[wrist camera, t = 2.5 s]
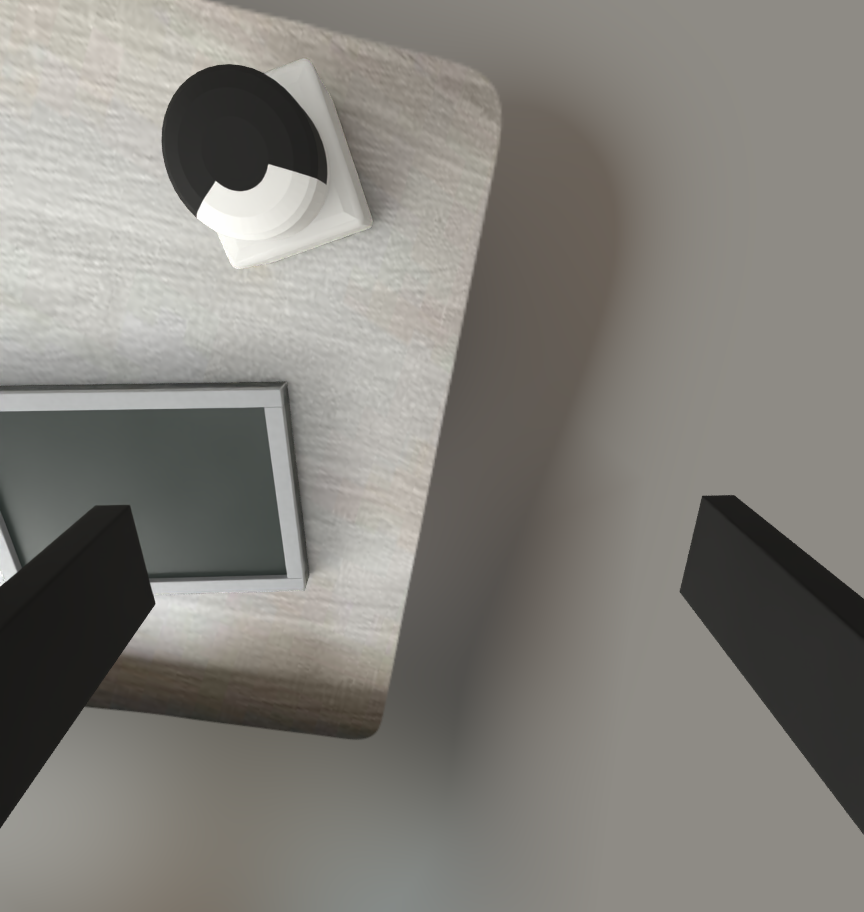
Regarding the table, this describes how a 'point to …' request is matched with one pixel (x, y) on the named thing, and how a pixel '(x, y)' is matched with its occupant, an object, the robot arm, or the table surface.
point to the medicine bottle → (263, 161)
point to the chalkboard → (159, 478)
